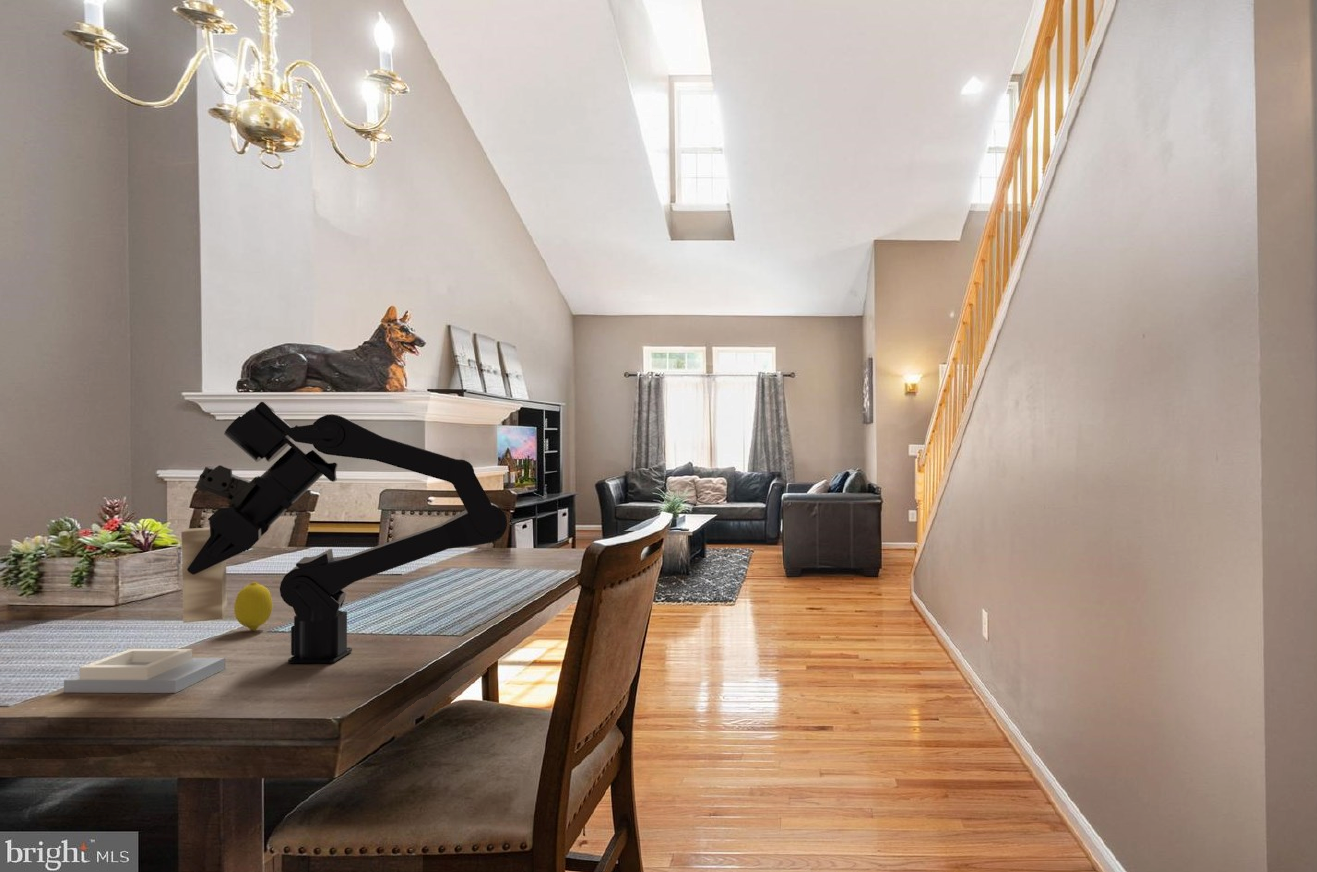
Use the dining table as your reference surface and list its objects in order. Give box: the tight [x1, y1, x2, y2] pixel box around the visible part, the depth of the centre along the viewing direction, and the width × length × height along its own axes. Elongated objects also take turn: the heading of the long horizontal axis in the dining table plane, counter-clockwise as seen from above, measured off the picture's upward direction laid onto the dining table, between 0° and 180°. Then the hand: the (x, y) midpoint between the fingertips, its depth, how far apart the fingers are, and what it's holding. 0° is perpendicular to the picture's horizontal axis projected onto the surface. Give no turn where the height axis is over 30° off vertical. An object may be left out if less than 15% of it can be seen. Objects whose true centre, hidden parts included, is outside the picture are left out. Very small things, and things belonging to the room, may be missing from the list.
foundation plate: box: [63, 648, 226, 694], centre depth 97 cm, size 14×10×3 cm
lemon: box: [233, 581, 274, 631], centre depth 123 cm, size 6×6×8 cm
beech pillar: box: [181, 526, 228, 624], centre depth 101 cm, size 4×4×12 cm
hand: (193, 569), depth 101 cm, fingers closed on beech pillar, 4 cm apart
